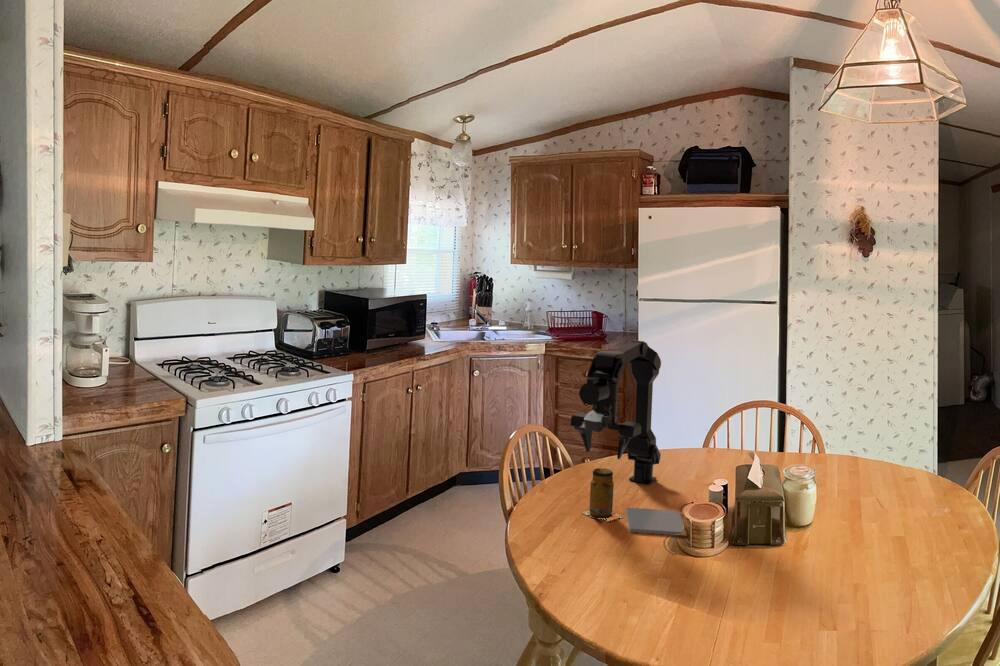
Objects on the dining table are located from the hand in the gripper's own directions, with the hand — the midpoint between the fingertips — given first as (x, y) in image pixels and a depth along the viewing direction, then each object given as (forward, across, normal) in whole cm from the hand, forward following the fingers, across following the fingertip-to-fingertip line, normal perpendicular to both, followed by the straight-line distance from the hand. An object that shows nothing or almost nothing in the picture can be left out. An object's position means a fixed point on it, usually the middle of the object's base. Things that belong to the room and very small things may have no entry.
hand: (603, 455), depth 184 cm
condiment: (+15, +3, -5) cm, 16 cm away
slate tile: (+15, +16, -1) cm, 22 cm away
